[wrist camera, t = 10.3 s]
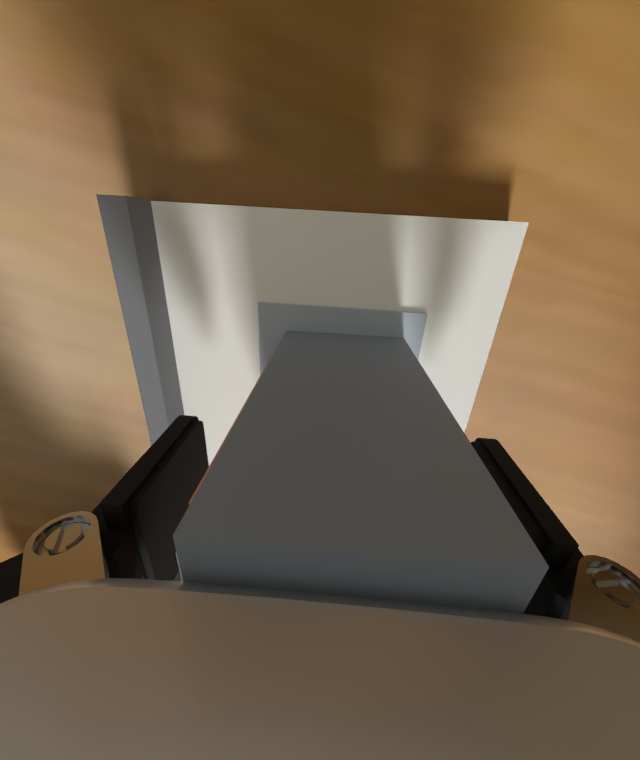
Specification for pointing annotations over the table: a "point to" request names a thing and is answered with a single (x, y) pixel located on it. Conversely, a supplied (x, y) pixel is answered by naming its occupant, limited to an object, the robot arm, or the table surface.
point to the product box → (355, 488)
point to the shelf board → (297, 296)
